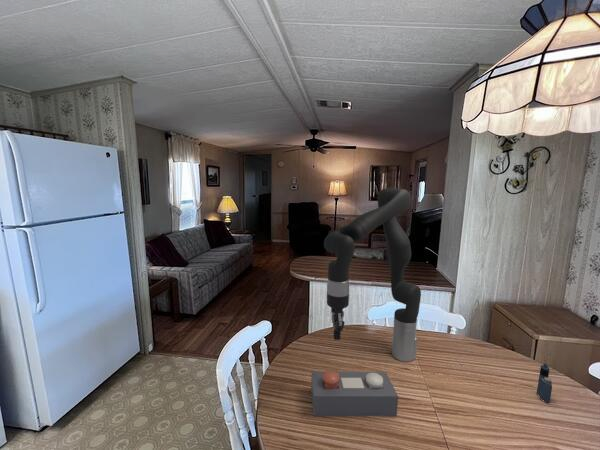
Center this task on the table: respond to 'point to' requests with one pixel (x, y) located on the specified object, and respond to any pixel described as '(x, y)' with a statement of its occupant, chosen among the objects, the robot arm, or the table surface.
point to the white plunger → (374, 381)
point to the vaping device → (544, 384)
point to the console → (353, 396)
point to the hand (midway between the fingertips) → (336, 338)
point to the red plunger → (330, 379)
